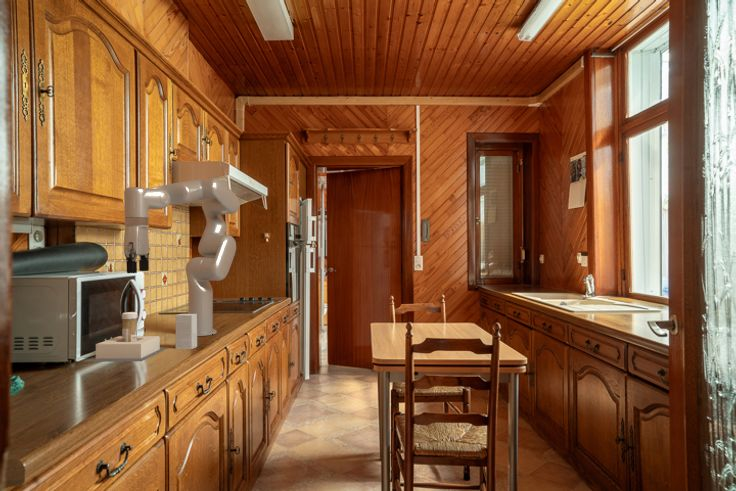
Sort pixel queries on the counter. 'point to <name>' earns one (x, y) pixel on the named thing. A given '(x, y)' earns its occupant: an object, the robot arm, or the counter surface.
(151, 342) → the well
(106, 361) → the slate mat
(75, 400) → the counter surface
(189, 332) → the skincare box
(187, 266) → the robot arm
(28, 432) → the counter surface
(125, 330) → the sprinkles bottle
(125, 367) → the counter surface
